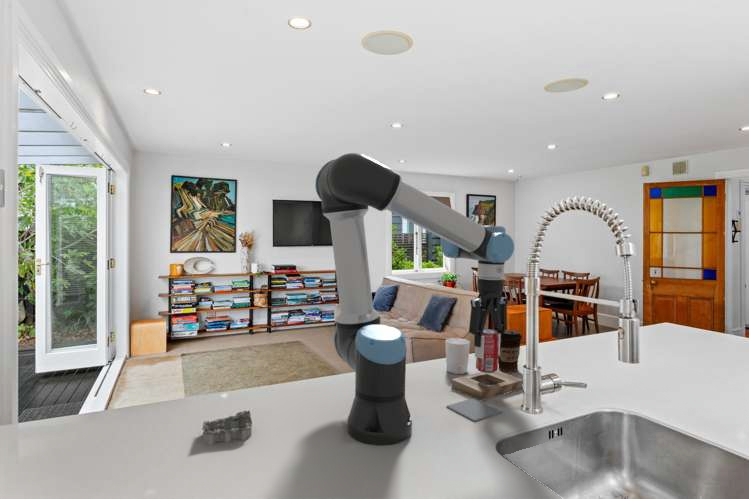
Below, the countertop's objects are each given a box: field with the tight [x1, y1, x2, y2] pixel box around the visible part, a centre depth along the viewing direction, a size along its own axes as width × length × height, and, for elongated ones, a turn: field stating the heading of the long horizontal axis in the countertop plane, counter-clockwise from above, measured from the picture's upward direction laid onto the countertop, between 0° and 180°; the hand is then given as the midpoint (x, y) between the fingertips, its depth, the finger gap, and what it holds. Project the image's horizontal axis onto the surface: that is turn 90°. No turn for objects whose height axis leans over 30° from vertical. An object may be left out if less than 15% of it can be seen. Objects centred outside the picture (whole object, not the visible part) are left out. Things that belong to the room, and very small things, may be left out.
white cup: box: [445, 337, 471, 375], centre depth 142 cm, size 8×8×10 cm
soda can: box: [475, 328, 499, 373], centre depth 127 cm, size 6×6×12 cm
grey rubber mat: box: [446, 397, 503, 423], centre depth 112 cm, size 10×10×1 cm
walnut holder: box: [451, 370, 524, 402], centre depth 127 cm, size 18×12×2 cm, turn 123°
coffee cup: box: [498, 329, 523, 373], centre depth 144 cm, size 9×8×13 cm
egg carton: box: [201, 410, 253, 446], centre depth 96 cm, size 11×8×4 cm
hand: (487, 355), depth 127 cm, fingers closed on soda can, 6 cm apart
